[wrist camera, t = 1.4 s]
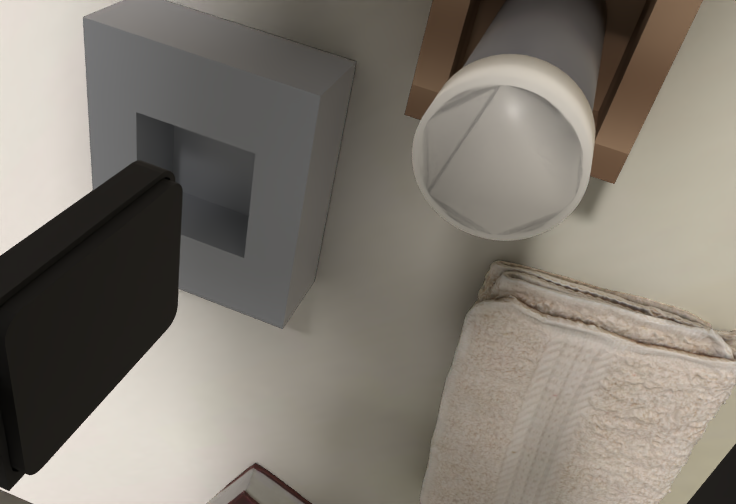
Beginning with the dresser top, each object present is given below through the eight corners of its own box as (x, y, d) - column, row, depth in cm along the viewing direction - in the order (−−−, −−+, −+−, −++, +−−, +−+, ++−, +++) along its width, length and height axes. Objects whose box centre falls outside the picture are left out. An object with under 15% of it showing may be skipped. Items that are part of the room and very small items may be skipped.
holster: (484, -132, 23) (462, -121, 21) (715, -70, 22) (726, -49, 19) (428, 82, 28) (404, 114, 25) (617, 143, 27) (614, 183, 24)
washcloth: (753, 312, 29) (764, 359, 27) (623, 547, 40) (621, 597, 37) (480, 241, 32) (467, 279, 29) (424, 481, 42) (411, 523, 40)
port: (141, -8, 30) (76, 19, 26) (356, 61, 28) (316, 99, 25) (143, 216, 37) (91, 261, 34) (314, 281, 36) (279, 334, 32)
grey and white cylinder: (518, -53, 24) (435, 53, 14) (630, -21, 23) (621, 112, 14) (485, 55, 26) (395, 207, 17) (586, 87, 26) (552, 263, 16)
